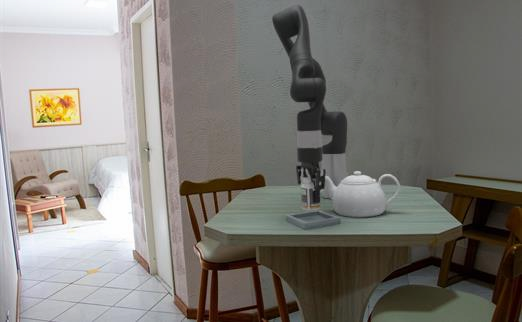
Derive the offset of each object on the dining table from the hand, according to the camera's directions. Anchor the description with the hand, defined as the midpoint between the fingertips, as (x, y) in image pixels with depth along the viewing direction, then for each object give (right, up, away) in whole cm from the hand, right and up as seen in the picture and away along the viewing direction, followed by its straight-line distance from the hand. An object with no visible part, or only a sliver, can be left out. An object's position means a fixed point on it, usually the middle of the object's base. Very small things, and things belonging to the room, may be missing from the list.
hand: (311, 200), depth 129 cm
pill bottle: (0, -3, 0) cm, 3 cm away
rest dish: (+1, -7, +1) cm, 7 cm away
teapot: (+18, -5, +11) cm, 21 cm away
